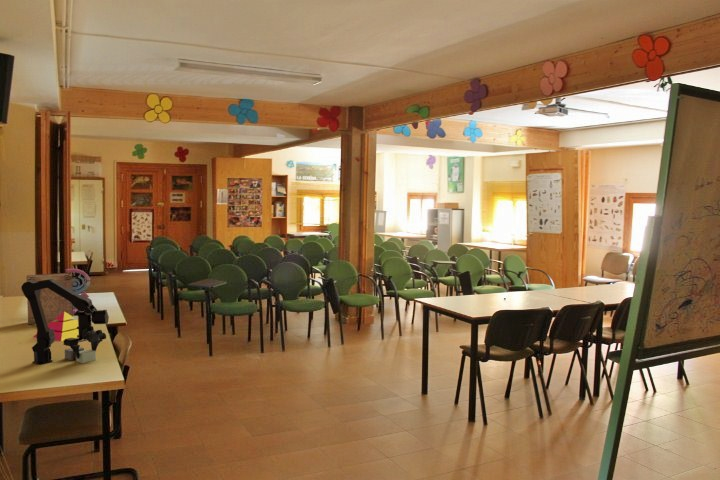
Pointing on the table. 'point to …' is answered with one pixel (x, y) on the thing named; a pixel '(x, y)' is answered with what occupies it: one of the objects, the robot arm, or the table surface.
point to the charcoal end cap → (71, 353)
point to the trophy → (75, 289)
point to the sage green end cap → (86, 356)
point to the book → (52, 297)
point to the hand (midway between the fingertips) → (85, 356)
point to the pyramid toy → (64, 327)
